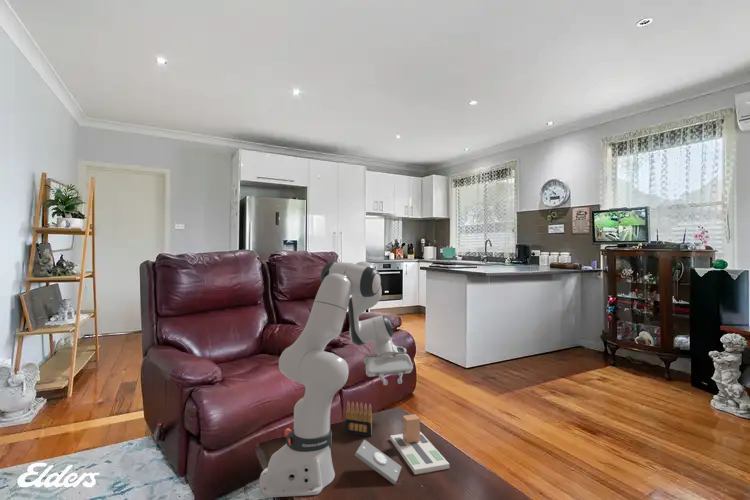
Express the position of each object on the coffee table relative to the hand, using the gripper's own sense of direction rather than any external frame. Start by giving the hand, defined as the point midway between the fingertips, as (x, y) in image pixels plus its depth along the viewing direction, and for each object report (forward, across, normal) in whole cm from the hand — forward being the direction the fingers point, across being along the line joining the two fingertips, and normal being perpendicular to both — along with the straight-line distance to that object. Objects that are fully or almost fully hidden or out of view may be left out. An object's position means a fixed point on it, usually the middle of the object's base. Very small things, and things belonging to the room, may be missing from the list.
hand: (393, 383), depth 155 cm
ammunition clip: (+15, -16, +7) cm, 23 cm away
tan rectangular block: (+23, 0, -4) cm, 24 cm away
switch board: (+29, 0, -7) cm, 30 cm away
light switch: (+34, -17, -12) cm, 40 cm away
